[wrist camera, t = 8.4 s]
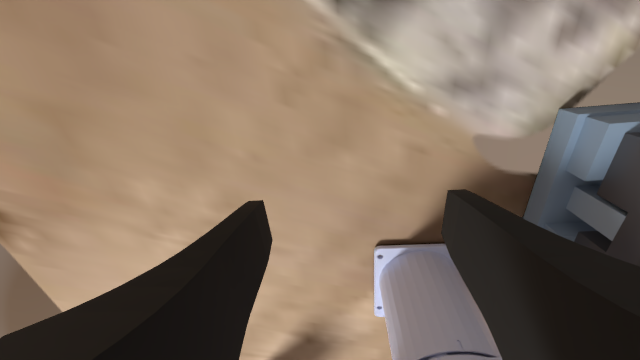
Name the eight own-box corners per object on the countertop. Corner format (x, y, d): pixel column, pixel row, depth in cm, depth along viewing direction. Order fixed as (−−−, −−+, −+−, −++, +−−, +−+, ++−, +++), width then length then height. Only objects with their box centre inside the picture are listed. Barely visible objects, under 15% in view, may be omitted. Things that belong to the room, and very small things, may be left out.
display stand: (588, 245, 22) (652, 296, 17) (513, 247, 22) (557, 298, 18) (662, 100, 16) (785, 121, 12) (559, 108, 17) (639, 131, 12)
